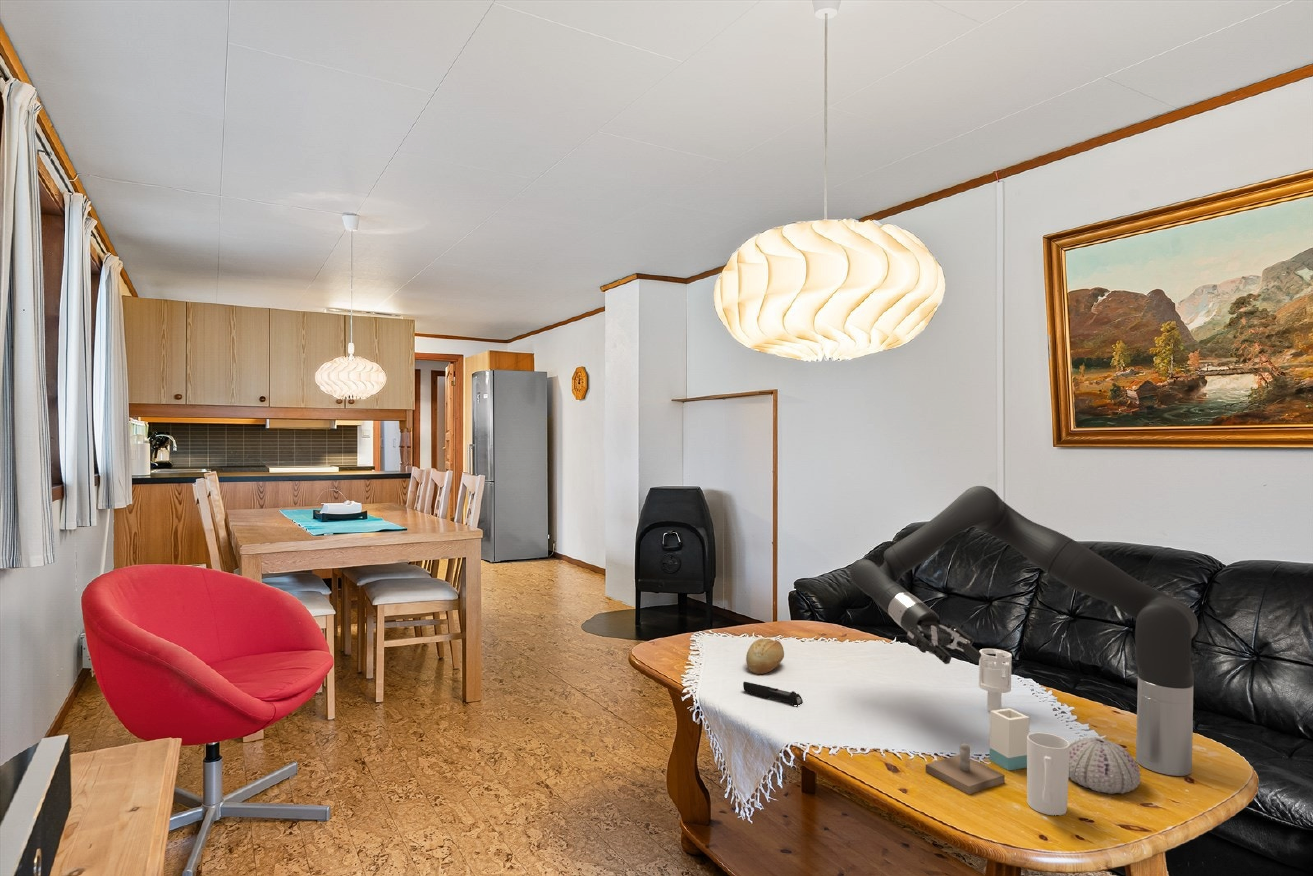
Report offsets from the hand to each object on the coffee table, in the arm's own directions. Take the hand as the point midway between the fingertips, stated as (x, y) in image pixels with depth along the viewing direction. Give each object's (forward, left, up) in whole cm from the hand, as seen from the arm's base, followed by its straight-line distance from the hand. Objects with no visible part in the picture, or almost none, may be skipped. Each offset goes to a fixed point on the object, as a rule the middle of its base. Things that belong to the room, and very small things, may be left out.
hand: (964, 659), depth 157 cm
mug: (+9, +25, -19) cm, 32 cm away
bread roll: (+6, -61, -19) cm, 64 cm away
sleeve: (-2, +9, -19) cm, 21 cm away
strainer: (-24, -11, -19) cm, 32 cm away
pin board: (+11, +9, -19) cm, 24 cm away
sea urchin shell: (-11, +22, -19) cm, 31 cm away
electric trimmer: (+19, -41, -19) cm, 49 cm away
